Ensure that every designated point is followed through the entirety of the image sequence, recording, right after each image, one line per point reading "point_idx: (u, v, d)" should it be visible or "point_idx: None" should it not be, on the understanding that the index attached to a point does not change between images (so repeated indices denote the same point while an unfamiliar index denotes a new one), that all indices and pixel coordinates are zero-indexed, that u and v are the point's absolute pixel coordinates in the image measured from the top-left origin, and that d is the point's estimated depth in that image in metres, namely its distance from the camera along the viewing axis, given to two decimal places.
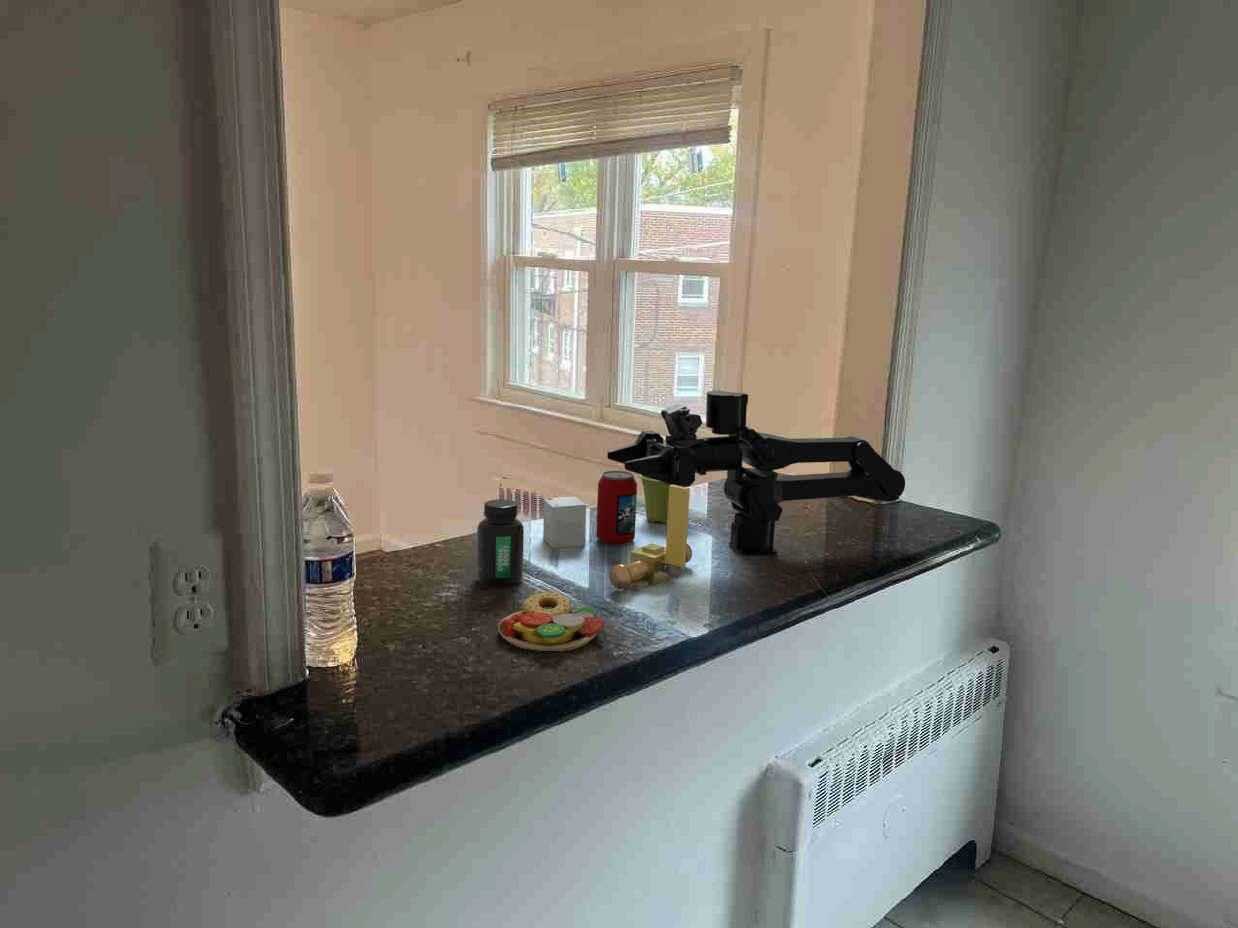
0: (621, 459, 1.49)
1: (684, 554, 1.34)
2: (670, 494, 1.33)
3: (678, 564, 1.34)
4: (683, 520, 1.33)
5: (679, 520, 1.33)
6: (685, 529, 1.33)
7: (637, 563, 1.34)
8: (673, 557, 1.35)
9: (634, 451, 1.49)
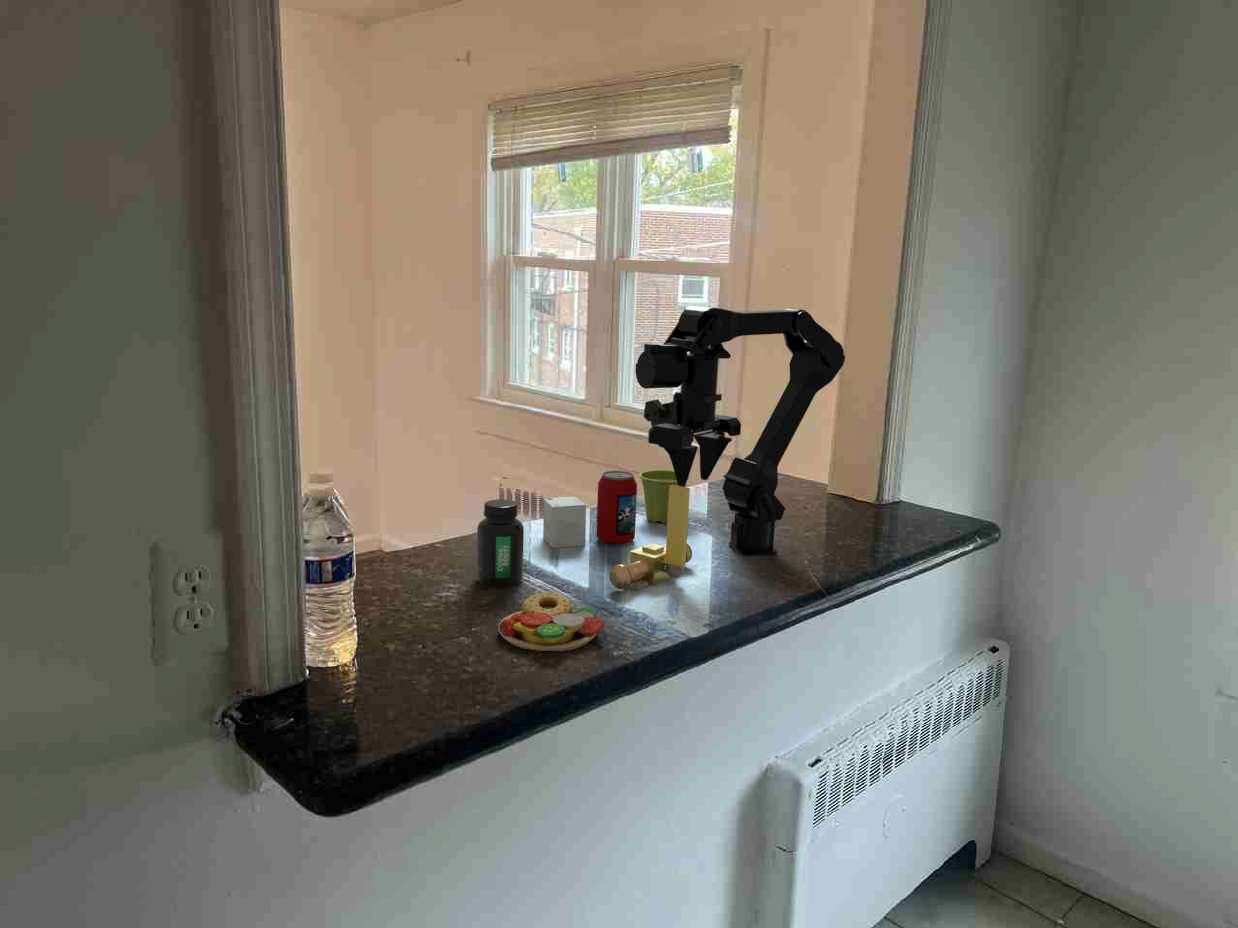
0: (708, 466, 1.47)
1: (684, 554, 1.34)
2: (670, 494, 1.33)
3: (678, 564, 1.34)
4: (683, 520, 1.33)
5: (679, 520, 1.33)
6: (685, 529, 1.33)
7: (637, 563, 1.34)
8: (673, 557, 1.35)
9: (704, 450, 1.47)
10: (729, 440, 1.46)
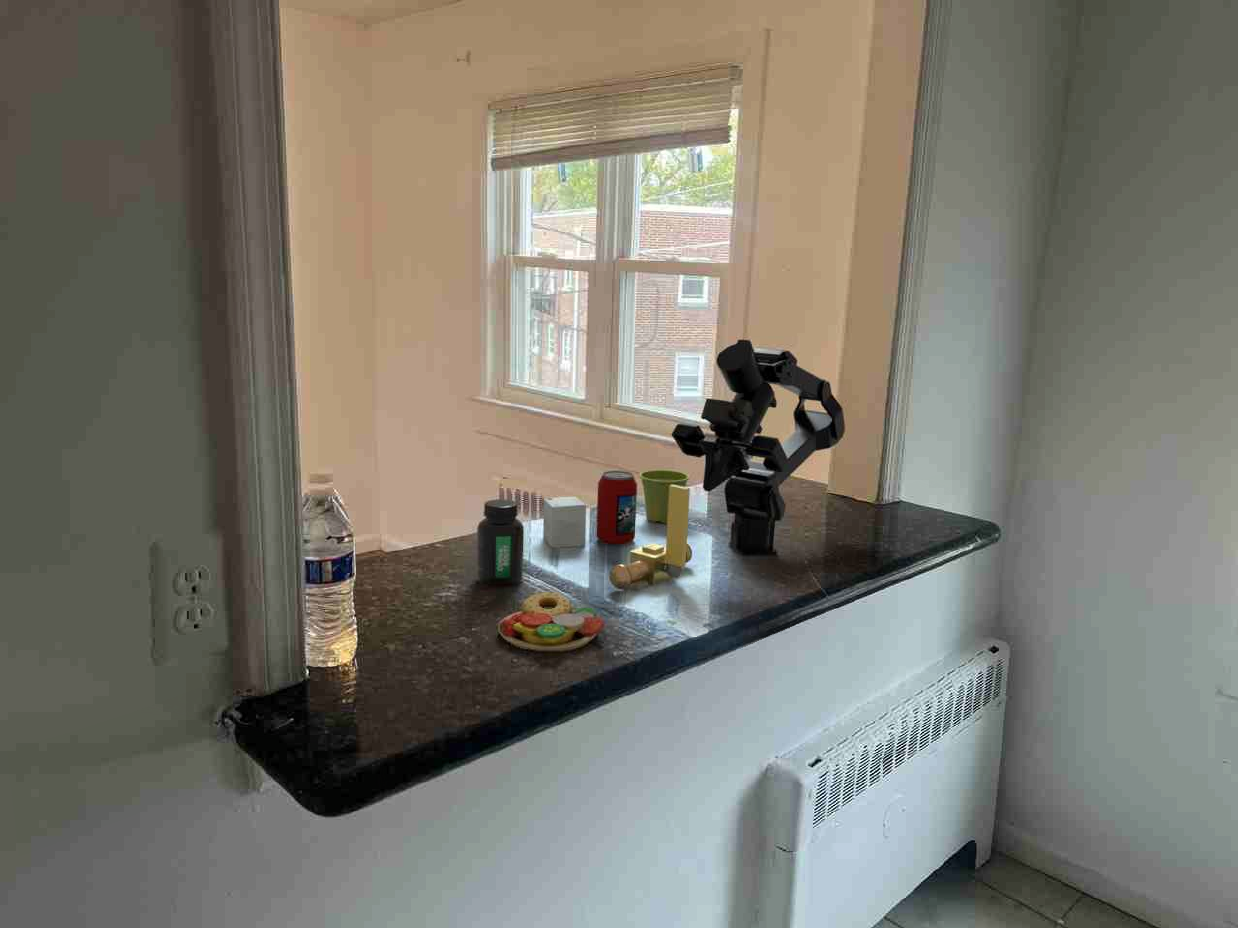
0: None
1: (684, 554, 1.34)
2: (670, 494, 1.33)
3: (678, 564, 1.34)
4: (683, 520, 1.33)
5: (679, 520, 1.33)
6: (685, 529, 1.33)
7: (637, 563, 1.34)
8: (673, 557, 1.35)
9: (715, 463, 1.41)
10: None
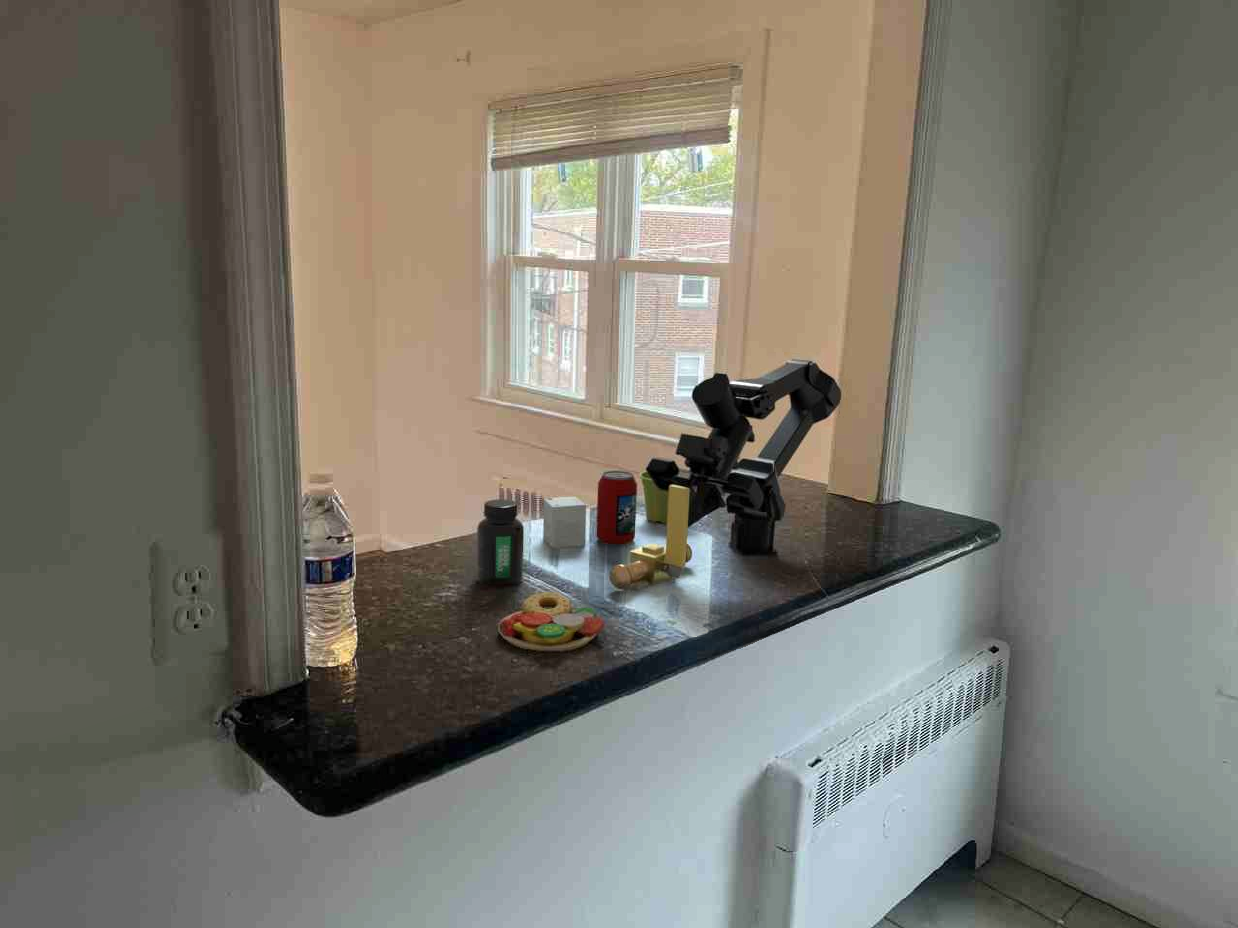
0: None
1: (684, 554, 1.34)
2: (670, 494, 1.33)
3: (678, 564, 1.34)
4: (683, 520, 1.33)
5: (679, 520, 1.33)
6: (685, 529, 1.33)
7: (637, 563, 1.34)
8: (673, 557, 1.35)
9: (689, 500, 1.37)
10: None
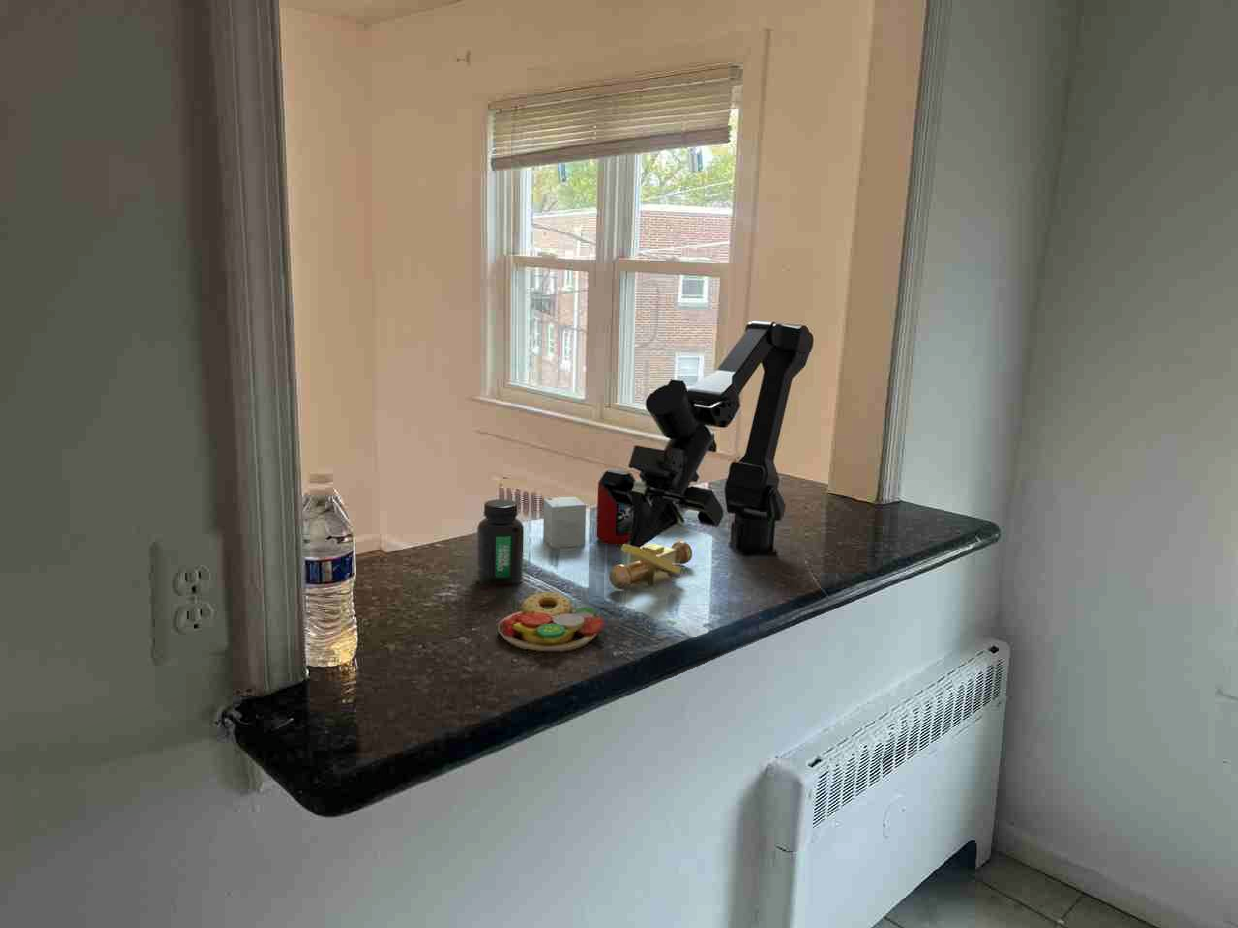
0: None
1: (674, 567, 1.32)
2: (627, 552, 1.27)
3: (674, 573, 1.34)
4: (654, 562, 1.28)
5: (650, 561, 1.29)
6: (661, 562, 1.29)
7: (637, 563, 1.34)
8: (666, 570, 1.34)
9: (644, 516, 1.28)
10: None
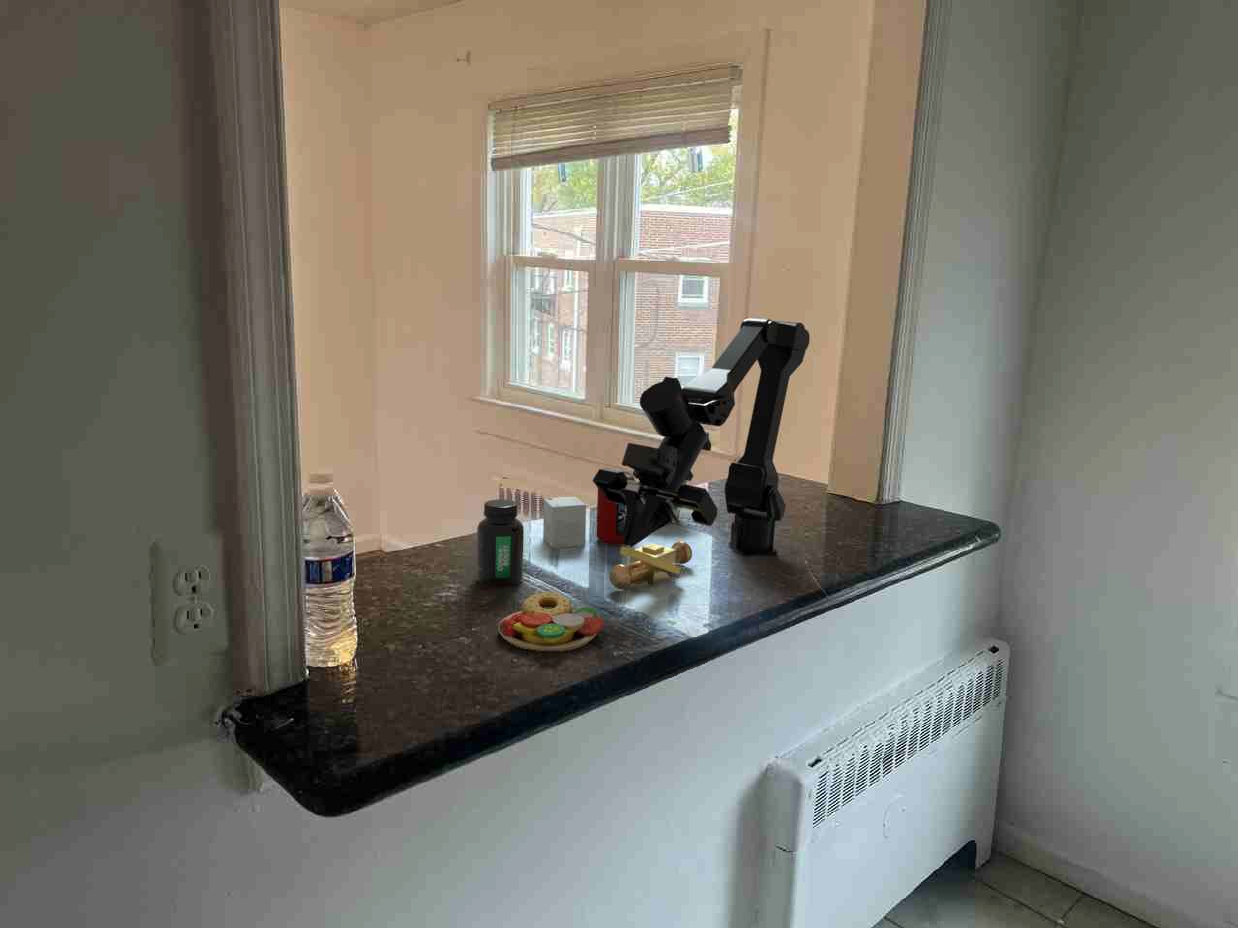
0: None
1: (674, 568, 1.32)
2: (626, 555, 1.27)
3: (674, 573, 1.34)
4: (653, 564, 1.28)
5: (650, 563, 1.29)
6: (660, 563, 1.29)
7: (637, 563, 1.34)
8: (666, 570, 1.34)
9: (637, 514, 1.26)
10: None
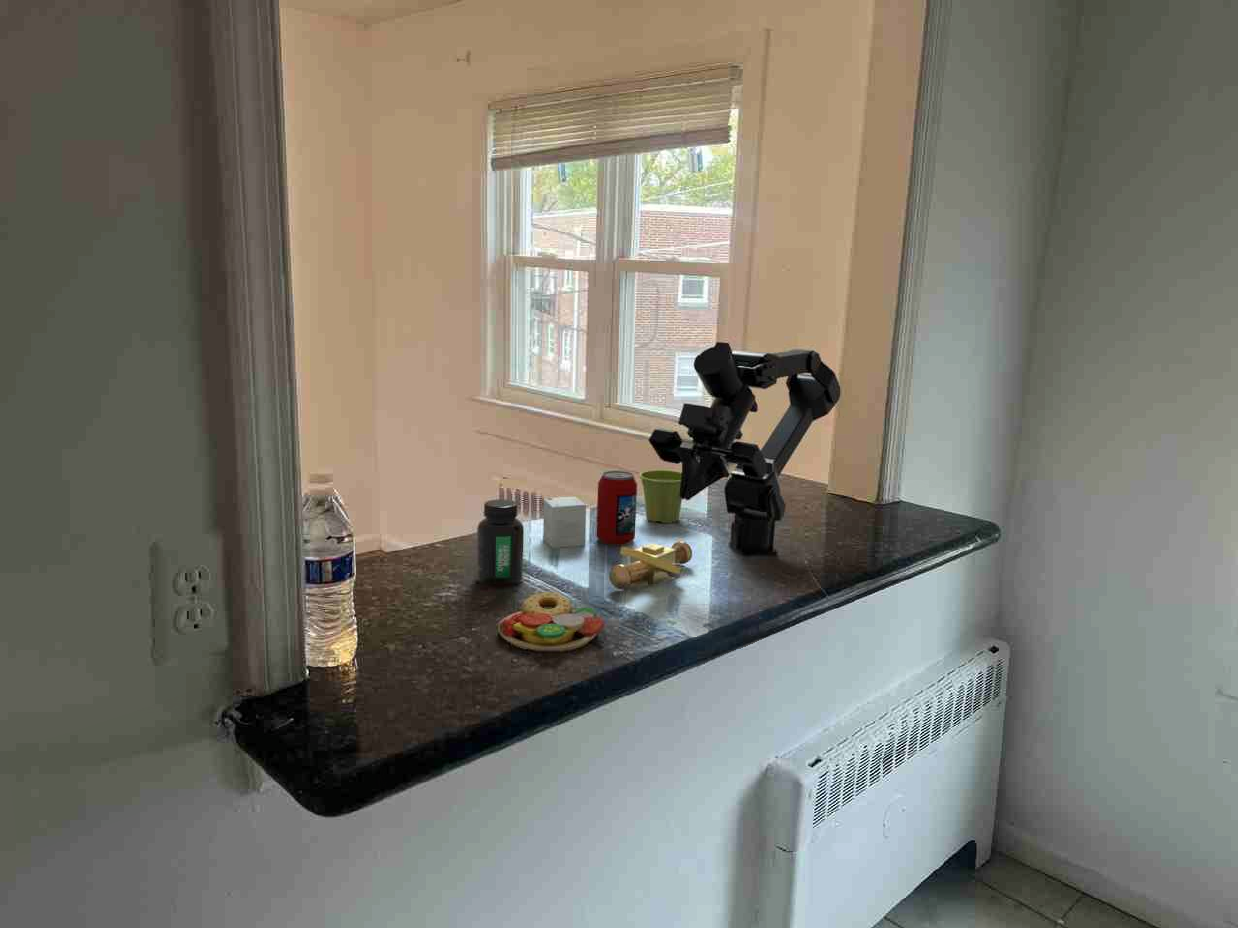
0: None
1: (674, 568, 1.32)
2: (626, 555, 1.27)
3: (674, 573, 1.34)
4: (653, 564, 1.28)
5: (650, 563, 1.29)
6: (660, 563, 1.29)
7: (637, 563, 1.34)
8: (666, 570, 1.34)
9: (692, 470, 1.36)
10: None
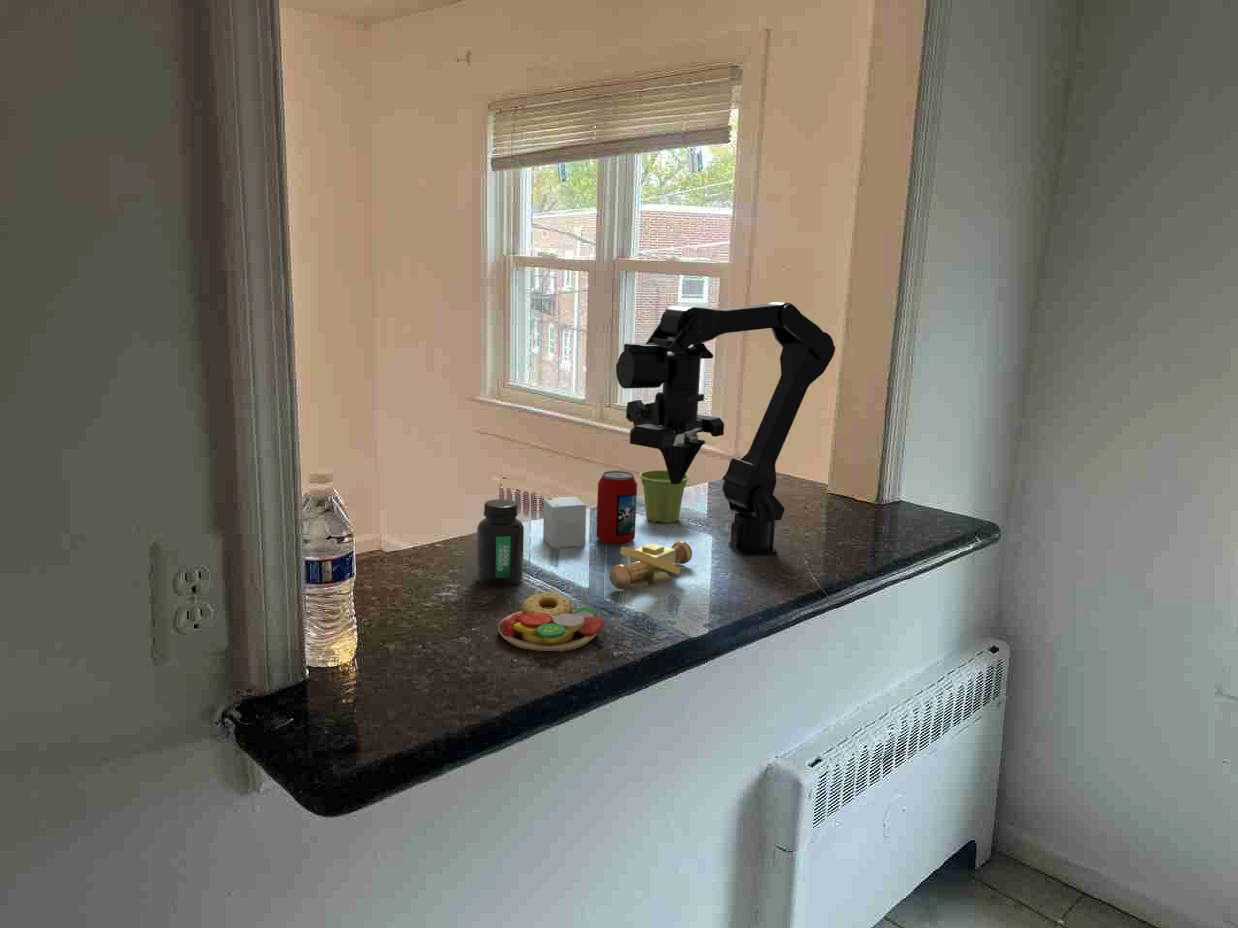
0: (681, 469, 1.44)
1: (674, 568, 1.32)
2: (626, 555, 1.27)
3: (674, 573, 1.34)
4: (653, 564, 1.28)
5: (650, 563, 1.29)
6: (660, 563, 1.29)
7: (637, 563, 1.34)
8: (666, 570, 1.34)
9: None
10: (702, 443, 1.43)
